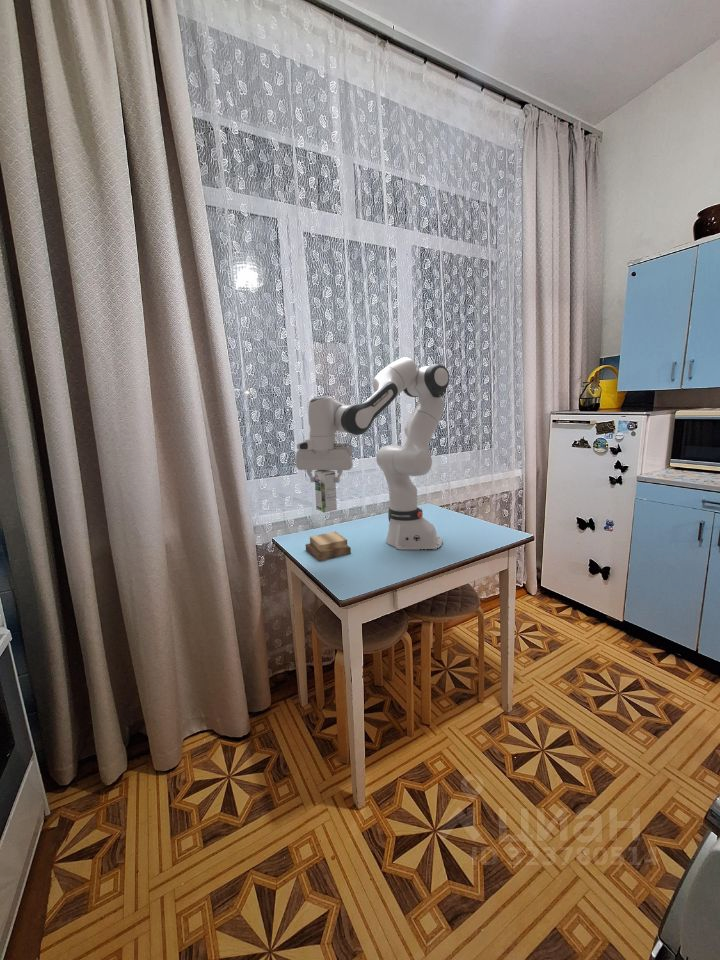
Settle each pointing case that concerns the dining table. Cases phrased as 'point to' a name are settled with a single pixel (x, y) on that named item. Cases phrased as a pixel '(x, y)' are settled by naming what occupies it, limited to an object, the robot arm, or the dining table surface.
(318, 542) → the oak top slab
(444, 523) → the dining table surface
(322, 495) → the syrup box
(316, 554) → the walnut base slab
